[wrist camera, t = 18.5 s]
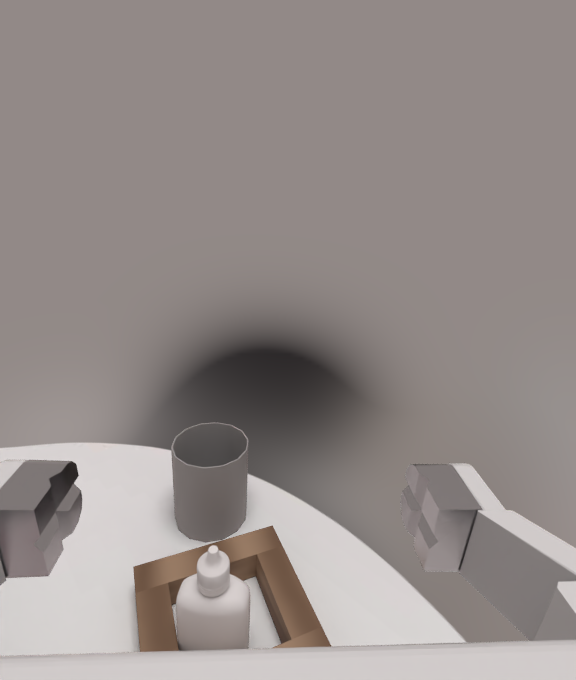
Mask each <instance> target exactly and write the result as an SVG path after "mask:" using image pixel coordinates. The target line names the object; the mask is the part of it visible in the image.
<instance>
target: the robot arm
mask: <svg viewBox="0 0 576 680" xmlns="http://www.w3.org/2000/svg"><path fill="white" fill-rule="evenodd" d="M78 476H79V475H78V470H77V465H76V464H75V463H74V462H72V461H48V460H5V461H2V462H0V585H1V584H2V583H4V582H5V581H6V578H18V577H41V576H49V574H50V573H51V571H52V569H53V567H54V565H55V564H56V562H57V560H58V558H59V556H60V555H61V553H62V551H63V544H62V540H63V539H65V538H66V537H67V536H69V535H70V534H72V533H73V531H74V529H75V527H76V525H77V523H78V521H79V517H80V514H81V510H82V494H81V490H80V489H79V488H78V487H77V486H76V485H75V484H74V482H75V480H76V479H77V477H78ZM405 478H406V480H407V482H408V484H409V485H408V486H407V487H406V488H405V489H404V490H403V491H402V496H401V502H400V503H401V515H402V519H403V523H404V526H405V528H406V530H407V532H409V533H410V534H411V535H412V536H414V537H415V541H414V545H413V547H414V549H415V552H416V554H417V556H418V559H419V560H420V563H421V566H422V568H423V570H424V571H449V572H460V573H459V574H460V575H461V576H463V577H464V578H465V579H466V580H467V581H468V582H469V583H470V584H471V585H472V586H473V587H474V588H475V589H476V590H477V591H478V592H479V593H480V594H481V595H482V596H483V597H484V598H486V599H487V600H488V601H489V602H490V603H491V604H492V605H493V606H494V607H495V608H496V609H497V610H498V611H499V612H500V613H501V614H502V615H503V616H504V617H505V618H506V619H508V621H510V622H511V623H512V624H513V625H514V626H515V627H516V628H517V629H518V630H519V631H520V632H521V633H522V634H523V635H524V636H525V637H526V638H527V639H528V640H529V641H509V642H476V643H475V642H471V643H436V644H401V645H367V646H332V647H298V648H263V649H227V650H192V651H157V652H122V653H87V654H52V655H17V656H0V680H576V548H574V547H573V546H571V545H569V544H567V543H566V542H564V541H563V540H561V539H559V538H558V537H556V536H554V535H552V534H551V533H549V532H547V531H546V530H544V529H542V528H541V527H539V526H537V525H535V524H534V523H532V522H531V521H529V520H527V519H526V518H524V517H522V516H521V515H519V514H517V513H515V512H514V511H510V510H505V508H504V507H503V506H502V504H501V503H500V502H499V501H498V499H497V498H496V497H495V495H494V494H493V493H492V492H491V490H490V489H489V488H488V486H487V485H486V484H485V482H484V481H483V480H482V479H481V477H480V476H479V475H478V473H477V472H476V471H475V469H474V468H473V467H472V466H471V465H469V464H410V465H409V467H408V468H407V471H406V476H405Z"/></svg>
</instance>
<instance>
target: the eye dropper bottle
mask: <svg viewBox="0 0 576 680" xmlns="http://www.w3.org/2000/svg"><path fill="white" fill-rule="evenodd" d="M176 619H177V637H178V649H179V651H192V650H227V649H248V646H249V622H250V589H249V587H248V585H247V584H246V583H245V582H244V581H242V580H241V579H239V578H237V577H236V576H234V575H231V574H230V560H229V558H228V556H227V555H226V554H225V553H224V552H222V551H220V550H218V547H217V546H215V545H212V546H210V547H209V549H208V552H206V553H204V554H203V555H202V556H201V557H200V558H199V560H198V562H197V574H194V575H192V576H189V577H187V578H186V579H185V580H184V581H183V582H182V584H181V586H180V589H179V592H178V595H177V599H176Z"/></svg>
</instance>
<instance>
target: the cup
mask: <svg viewBox="0 0 576 680" xmlns="http://www.w3.org/2000/svg"><path fill="white" fill-rule="evenodd" d="M171 450H172V469H173V487H174V506H175V519H176V522H177V526H178V529H179V530H180V531H181V532H182V533H183V534H185V535H186V536H187V537H188V538H189V539H193V540H198V541H202V542H210V541H216V540H223V539H224V538H226V537H228V536H230V535H231V534H233V533H235V532H237V531H238V529H239V528H240V526H241V525H242V524H243V522H244V521H245V517H246V502H247V468H248V438H247V437H246V436H245V434H244V433H243V431H242V430H240V429H238V428H236V427H234V426H232V425H229V424H223V423H217V422H215V423H204V424H198V425H196V426H193V427H190V428H187V429H185V430H184V431H183V432H181V433H180V434H179V435H178V436H176V437H175V440H174V442H173V444H172V447H171Z"/></svg>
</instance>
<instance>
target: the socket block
mask: <svg viewBox="0 0 576 680" xmlns="http://www.w3.org/2000/svg"><path fill="white" fill-rule="evenodd" d="M212 545H215V546H217V547H218V550H220V551H222V552H224V553H225V554H226V555H227V556H228V558H229V560H230V574H231V575H234V576H236V577H237V578H239V579H241V580H245V579H248V578H251V577H254V576H256V578H257V580H258V583H259V585H260V588H261V591H262V593H263V596H264V599H265V601H266V604H267V606H268V609H269V612H270V614H271V617H272V619H273V622H274V625H275V627H276V630H277V632H278V635H279V638H280V640H281V643H282V644H280V645H278V646H275V647H273V648H298V647H331V645H330V643H329V641H328V639H327V637H326V635H325V633H324V630H323V628H322V626H321V624H320V622H319V620H318V618H317V616H316V614H315V612H314V610H313V608H312V606H311V604H310V602H309V600H308V598H307V596H306V594H305V591H304V589H303V587H302V585H301V583H300V581H299V579H298V577H297V575H296V573H295V571H294V569H293V567H292V565H291V563H290V561H289V559H288V557H287V554H286V552H285V550H284V548H283V546H282V544H281V542H280V540H279V538H278V536H277V534H276V532H275V530H274V528H273V526H270V527H266V528H263V529H259V530H256V531H253V532H249V533H246V534H243V535H239V536H236V537H233V538H229V539H226V540H222V541H219V542H216V543H212V544H209V545H206V546H202V547H199V548H195V549H192V550H189V551H185V552H182V553H179V554H175V555H172V556H169V557H165V558H162V559H158V560H155V561H152V562H148V563H145V564H142V565H138V566H135V567H134V580H135V593H136V605H137V618H138V631H139V644H140V652H157V651H179V649H178V643H177V636H176V630H175V624H174V617H173V611H172V605H173V604H176V599H177V595H178V592H179V589H180V586H181V584H182V582H183V581H184V580H185V579H186V578H187V577H189V576H192V575H194V574H197V562H198V560H199V558H200V557H201V556H202V555H203V554H204V553H206V552H208V549H209V547H210V546H212Z"/></svg>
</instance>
